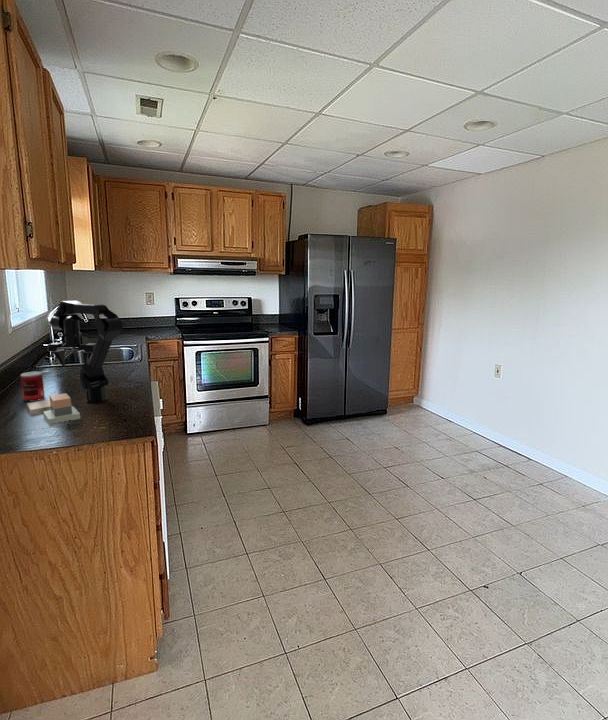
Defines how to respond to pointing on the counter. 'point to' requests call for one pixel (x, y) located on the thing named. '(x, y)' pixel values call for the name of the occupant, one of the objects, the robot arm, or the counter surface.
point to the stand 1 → (39, 406)
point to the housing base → (61, 411)
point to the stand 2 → (52, 419)
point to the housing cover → (60, 401)
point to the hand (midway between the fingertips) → (75, 367)
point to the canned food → (32, 385)
